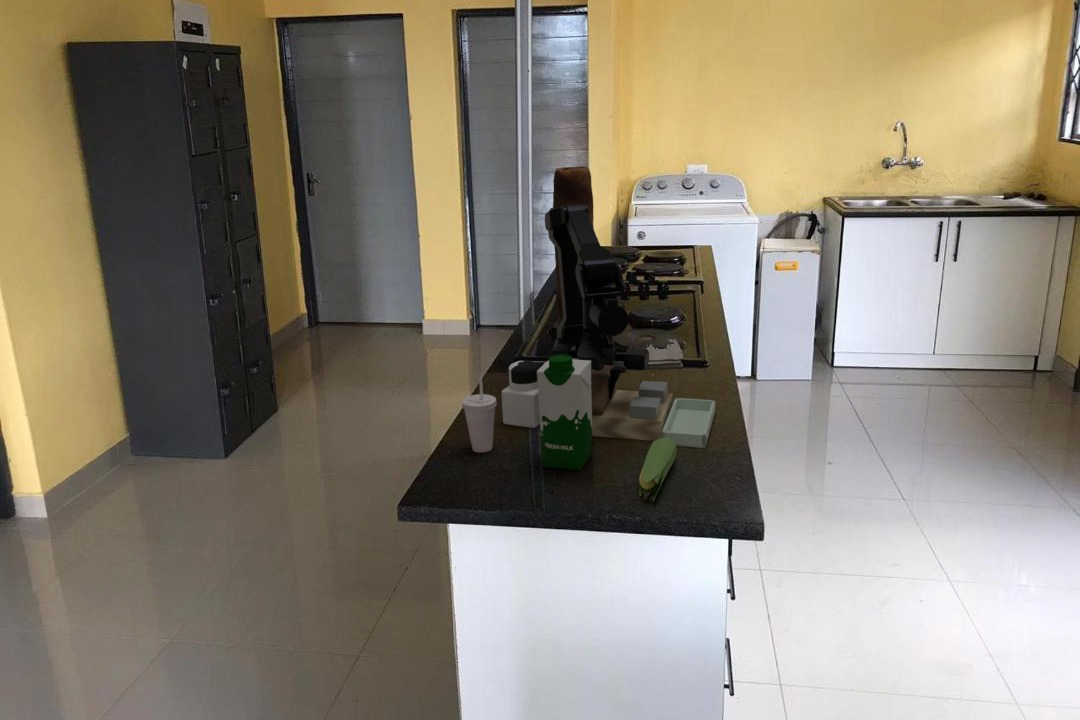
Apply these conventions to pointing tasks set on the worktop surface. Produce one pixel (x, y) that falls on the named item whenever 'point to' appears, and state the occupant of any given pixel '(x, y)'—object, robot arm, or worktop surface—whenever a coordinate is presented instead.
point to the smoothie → (480, 419)
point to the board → (629, 419)
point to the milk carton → (565, 412)
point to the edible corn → (657, 465)
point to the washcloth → (665, 357)
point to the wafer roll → (571, 189)
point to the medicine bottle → (521, 395)
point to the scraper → (600, 389)
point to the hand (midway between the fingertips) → (599, 398)
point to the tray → (690, 422)
